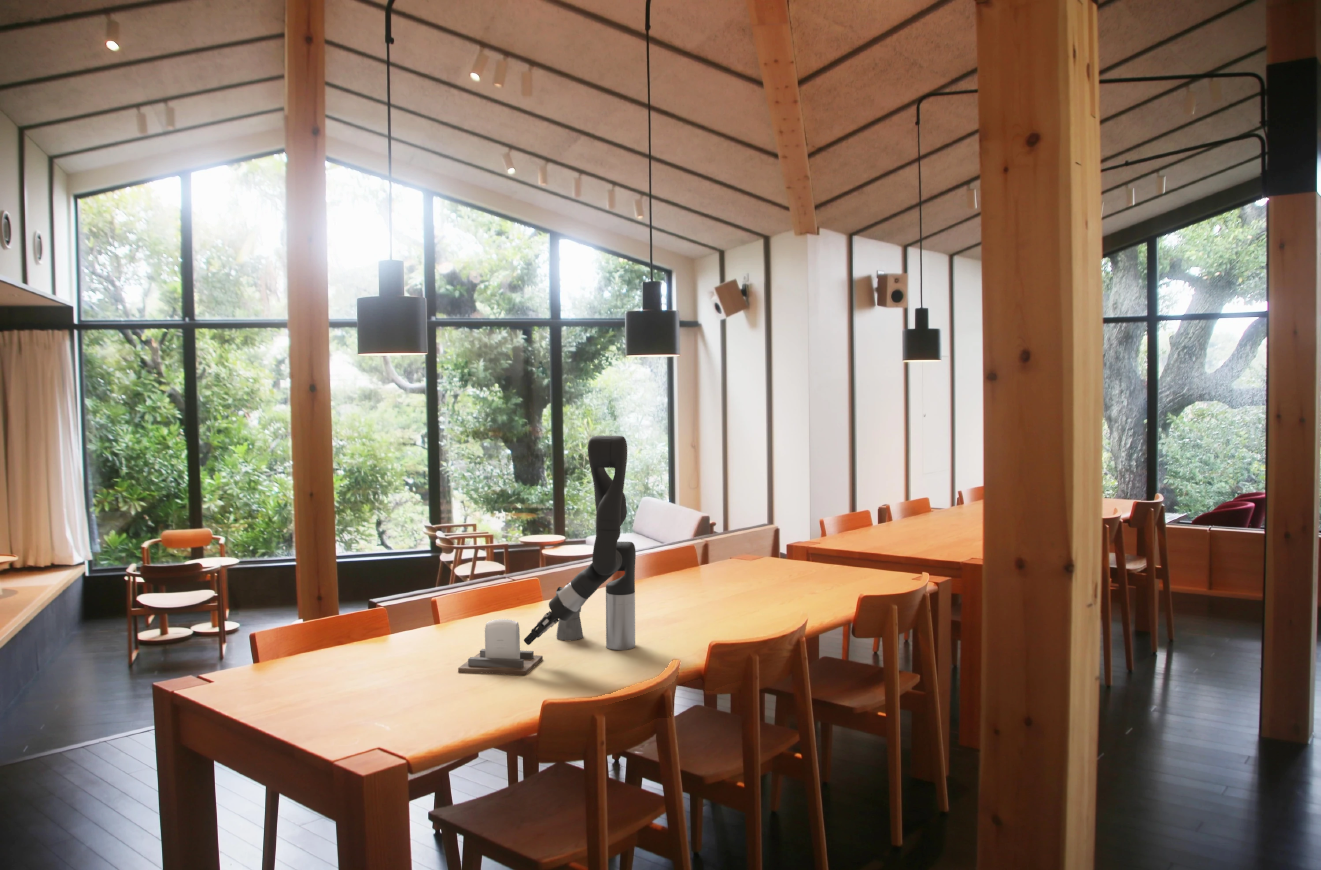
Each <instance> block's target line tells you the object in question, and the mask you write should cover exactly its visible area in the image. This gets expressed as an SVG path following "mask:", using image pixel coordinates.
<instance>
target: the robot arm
mask: <svg viewBox="0 0 1321 870" xmlns="http://www.w3.org/2000/svg"><path fill="white" fill-rule="evenodd" d="M587 456H588V462H589V469H590V472H591V477H592V483H593V488H594V502H595V511H596V514H595V539H594V545H593V551H592V557H591V558H592V560H591V561H592V562H591V563H590V564H589V565H588V566H587V567H586V568H584V569H583V570H581V571H580V572H578V574H577V575H576V576H575V577H573V579H572V580H570V582H569V584H567V583H566V585H565V586H564V587H562V588H563V589H562V590H561V591H560V592H559V593H558V594H557V595H556V594H555V596H553V598H552V599H551V600H550V601H548V608H549V609H550V610H549V611H548V612H546V613H545V614H544V615H543V617H542V618H541V619H540V620H539V621H538V622H537V623H536V625H535V626H534V627H533V628H532V629H530V633H528V635H526V637H525V638H524V639H523V641H524V643H525V644H526V645H527V646H530V645H531V644H532V643H533V642H534V641H535V640H536V639H537V638H540V637H541V636H542V635H543V634H545V633H546V632H547V631H548V630H550V628H553V627H554V626H555V625H556V624H558V622H559V619H560V620H562V621H567V620H569V619H570V618H571V617H572V616H573V615H574V614H575V613H576V612H577V611H578V610H579V609H580V608H581V609H582V606H583V605H584V604H585V603H586V602H587V601H588V600H589V598H591V596H592V595H593V594H595V592H596V591H597V590H598V589H599V588H600V586H602V585H603V584H604V583H605V582H606V581H607V580H609V579H610V578H611V577H612V576H614V574H616V573H617V572H624V574H623V575H622V576H621V577H619V578H617V579H615V580H612V581H611V580H610V581H609V582H607V583H606V585H605V642H606V643H605V647H606V648H607V649H609V650H615V651H623V650H632V649H634V648H635V647H636V585H635V584H636V583H635V582H636V580H635V578H636V577H635V575H636V573H635V572H636V545H635V544H634V543H633V542H632V541H618V540H619V539H620V537H621V527H622V525H623V524H624V522H625V520H626V518H627V515H628V508H627V497H626V495H625V493H624V487H625V479H626V472H627V471H626V470H627V462H628V443H627V440H626V438H625V436H623V435H592V436H591V437H590V438H589V440H588V443H587ZM610 468H611V469H612V468H613V469H614V473H613V474H614V475H613V478H611V477H610V476H609V474H608V473H607V470H606V469H610Z"/></svg>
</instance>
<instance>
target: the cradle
mask: <svg viewBox="0 0 1321 870" xmlns="http://www.w3.org/2000/svg"><path fill="white" fill-rule="evenodd" d="M543 660H544V659H543V655H535V654H534V650H521V649H520V659H506V658H485V648H482V649H480V650H479V652H478V653H477V654H476V655H474V656H470V657H469V658H468V659H467V661H466V662H464V663H463V664H462V665H460V666H459V667H458V668H457V672H458V673H468V674H469V673H470V674H488V675H489V674H491V675H493V674H494V675H512V676H513V675H515V676H527V675H528V674H529V673H530V672H531V671H532V670H533V669H534V668H535V667H536V666H537V665H539V664H540V663H539V662H540V661H541V662H542V661H543Z"/></svg>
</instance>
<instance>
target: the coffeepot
mask: <svg viewBox="0 0 1321 870" xmlns="http://www.w3.org/2000/svg"><path fill="white" fill-rule="evenodd" d="M569 583H570V582H569ZM569 583H566V585H567V584H569ZM563 588H564V587H561V586H559V587H557V589H556V591H555V596H556V595H557V594H558V593H559V592H560V591H561V590H562V589H563ZM581 612H582V607H581V608H580V609H579V610H578V611H577V612H576V613H575V614H574V615H573V616H572V617H571V618H570V619H569V620H567V621H562V620H560V619H558V620H559V621H558V622H557V629H556V635H555V636H556V639H557V640H559V639H561V640H560V641H565V640H571V641H577V639H578V640H582V639H583V638H584V632H583V628H582V621H581V617H580V616H581V615H580V614H581Z"/></svg>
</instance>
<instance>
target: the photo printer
mask: <svg viewBox="0 0 1321 870" xmlns="http://www.w3.org/2000/svg"><path fill="white" fill-rule="evenodd" d="M520 633H521V632H520V625H519V622H518V621H516V620H512V619H509V618H507V619H506V618H497V619H492V620H489V621H487V622H485V627H484V646H485V647H484V649H485V658H506V659H520V650H521V639H520V637H521V636H520V635H521V634H520Z"/></svg>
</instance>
